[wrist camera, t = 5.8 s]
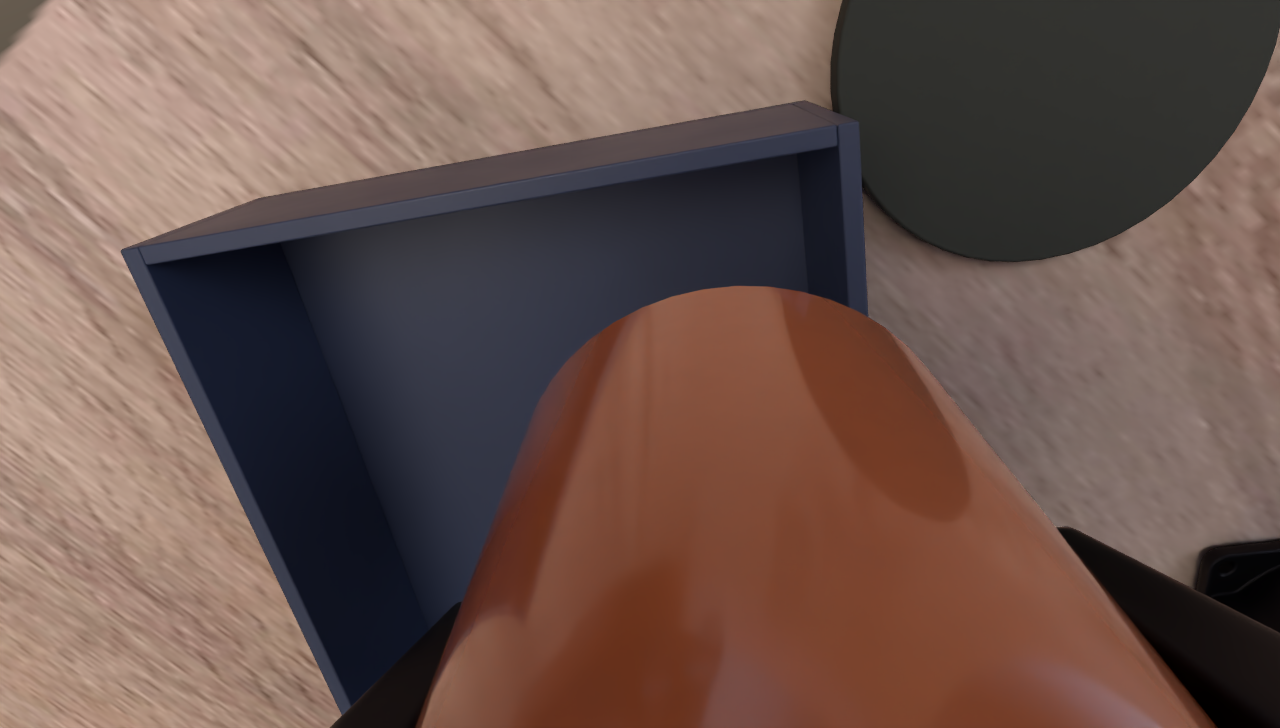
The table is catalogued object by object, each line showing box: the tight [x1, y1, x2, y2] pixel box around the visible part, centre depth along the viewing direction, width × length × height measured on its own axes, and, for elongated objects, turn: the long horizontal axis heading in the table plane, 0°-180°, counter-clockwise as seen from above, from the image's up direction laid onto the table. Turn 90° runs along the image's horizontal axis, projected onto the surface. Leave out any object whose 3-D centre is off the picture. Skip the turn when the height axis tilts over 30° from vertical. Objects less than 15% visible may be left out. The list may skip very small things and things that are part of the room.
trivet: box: [831, 0, 1280, 262], centre depth 17 cm, size 10×10×1 cm
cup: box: [415, 286, 1218, 728], centre depth 7 cm, size 6×6×8 cm
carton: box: [121, 100, 868, 715], centre depth 19 cm, size 16×15×5 cm
